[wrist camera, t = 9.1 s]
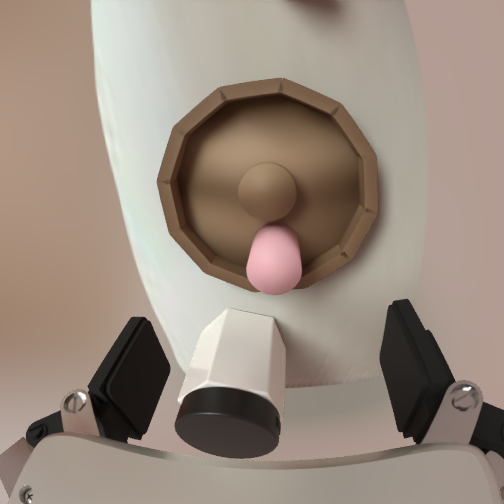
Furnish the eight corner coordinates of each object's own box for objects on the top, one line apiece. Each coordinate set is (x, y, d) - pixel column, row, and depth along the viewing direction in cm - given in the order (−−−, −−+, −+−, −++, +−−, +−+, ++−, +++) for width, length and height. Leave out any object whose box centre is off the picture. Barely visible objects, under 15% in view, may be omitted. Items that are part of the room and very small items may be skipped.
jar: (246, 376, 32) (232, 466, 21) (189, 339, 30) (155, 431, 19) (302, 337, 28) (306, 440, 17) (241, 292, 26) (215, 398, 16)
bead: (249, 224, 22) (242, 248, 18) (296, 219, 22) (299, 243, 18) (256, 265, 24) (250, 296, 20) (300, 261, 23) (303, 292, 19)
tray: (157, 107, 20) (142, 106, 17) (357, 79, 18) (367, 74, 15) (195, 279, 26) (186, 296, 24) (367, 264, 24) (375, 281, 21)
